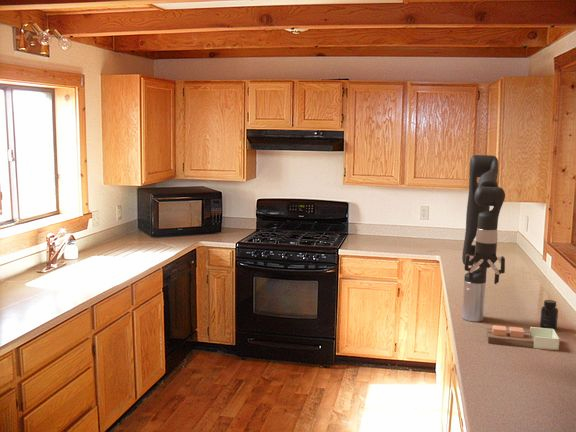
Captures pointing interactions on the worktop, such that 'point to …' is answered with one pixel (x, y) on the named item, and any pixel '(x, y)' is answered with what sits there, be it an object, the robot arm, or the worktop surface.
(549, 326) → the supplement bottle
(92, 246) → the worktop surface
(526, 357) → the worktop surface
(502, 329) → the tile
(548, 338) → the tray
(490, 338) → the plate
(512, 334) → the tile
